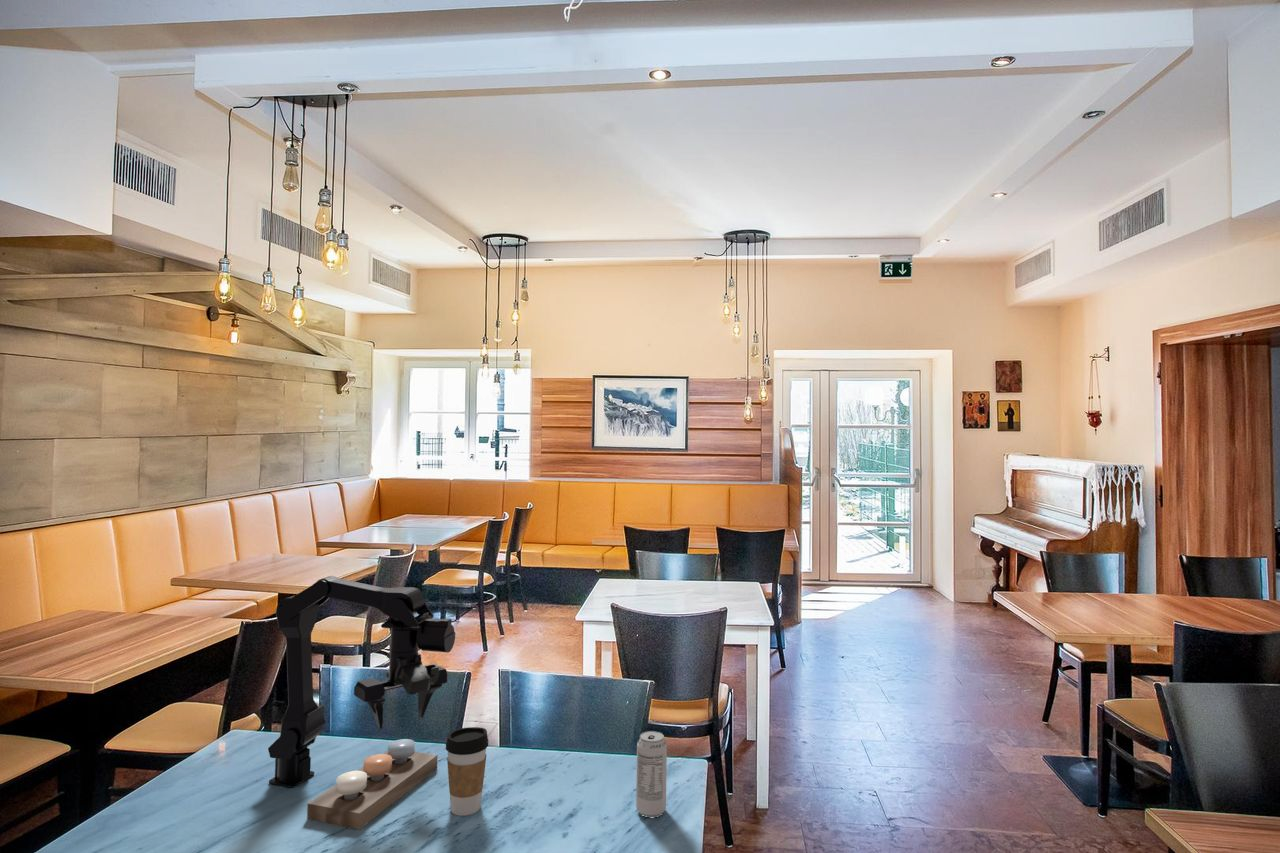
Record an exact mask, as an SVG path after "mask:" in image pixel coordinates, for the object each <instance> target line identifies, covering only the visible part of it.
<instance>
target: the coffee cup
mask: <svg viewBox="0 0 1280 853" xmlns="http://www.w3.org/2000/svg"><path fill="white" fill-rule="evenodd" d="M488 737H489V736H488V730H487V729H486V728H483V727H477V726H476V727H474V726H472V727H469V726H468V727H461V728H457V729H454V730H452V731H450V732H449V733H448V734H447V738H446V742H445V750H446V751H447V758H446V759H447V760H446V761H447V776H448V788H449V803H450V804H449V805H450V812H451V813H452V814H453V815H456V816H461V817H463V816H470V815H473V814H475V813H477V812H478V811H479V810H480V809H481V806H482V799H483V798H482V796H483V789H484V788H483V787H484V780H485V771H486V763H487V762H486V761H487V753H486V752H487V748H488V747H489V738H488Z"/></svg>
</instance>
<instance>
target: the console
mask: <svg viewBox="0 0 1280 853" xmlns="http://www.w3.org/2000/svg"><path fill="white" fill-rule="evenodd" d="M382 754H387V755H388V750H387V751H385V752H384V753H382ZM437 769H438V754H433V753H427V752H419V751H416V750H414V754H413V755H412V756H410V757H408V758H407V763H405V764H404V765H398V764H395V759H392V769H391V770H390V771H389V772H388V773H386V774H384V779H383V780H382V781H380V782H374V781H371V776H368V775H367V786H366V788H365V789H364V790H362V791H360V792H358V798H357V799H355V800H354V801H348V800H344V795H343V794H339V793H337V792H336V784H335V785H333V786H332V787H330V788H329V789H327V790H325V791H324V792H323V793H322V794H320V795H318V796H316V797H315V798H314V799H312V800H310V801H309V802H308V803H307V810H306V812H307V814H306V816H307V817H306V819H307V820H309V819H311V820H310V821H314V820H315V821H314V822H320V823H324V824H330V825H334V826H339V825H340V826H339V827H344V826H345V828H349V827H350V828H349V829H354V828H356V829H355V830H361V829H362V828H363V827H365V826H366V825H367V824H369V821H370V820H371V821H372V820H374V819H375V818H376V817H377V816H379V815H380V814H381V813H382V812H384V811H385V810H386V809H388V807H390V806H392V805H393V804H394V803H395V802H396V801H398V800H399V799H400V798H401V797H402V796H404V795H406V794H407V793H408V792H409V791H410V790H412V789H413V788H414V787H415V786H417V785H418V784H420V783H421V782H422V781H424V780H425V779H426V778H427V777H428V776H430V775H431V774H432V773H434V772H435V771H436V770H437ZM357 771H363V766H362V767H361V768H359V769H358V770H357ZM378 814H379V815H378ZM374 817H375V818H374ZM371 821H370V822H371ZM366 823H367V824H366ZM365 824H366V825H365ZM364 825H365V826H364ZM361 827H362V828H361ZM360 828H361V829H360Z"/></svg>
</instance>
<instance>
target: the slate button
mask: <svg viewBox="0 0 1280 853" xmlns="http://www.w3.org/2000/svg"><path fill="white" fill-rule="evenodd" d="M415 744H416V743H415V740H413V739H410V738H403V739H402V738H401V739H396V740H393V741H391V742H389V744H388V745H387V751H388V755H390V756H391V757H392V759H395V764H398V765H404V764H405V763H407V758H408V757H410V756H412V755H413V754H414V751H416V750H415V748H416V747H415Z"/></svg>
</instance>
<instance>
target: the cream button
mask: <svg viewBox="0 0 1280 853" xmlns="http://www.w3.org/2000/svg"><path fill="white" fill-rule="evenodd" d="M335 785H336V792H337V793H339V794H343V795H344V800H348V801H354V800H355V799H357V798H358V792H360V791H362V790H364V789H365V788H366V786H367V774H366V773H365V772H363V771H358V770H350V771H346V772H345V773H342V774H340V775H338V776H337V778H336V784H335Z"/></svg>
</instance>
